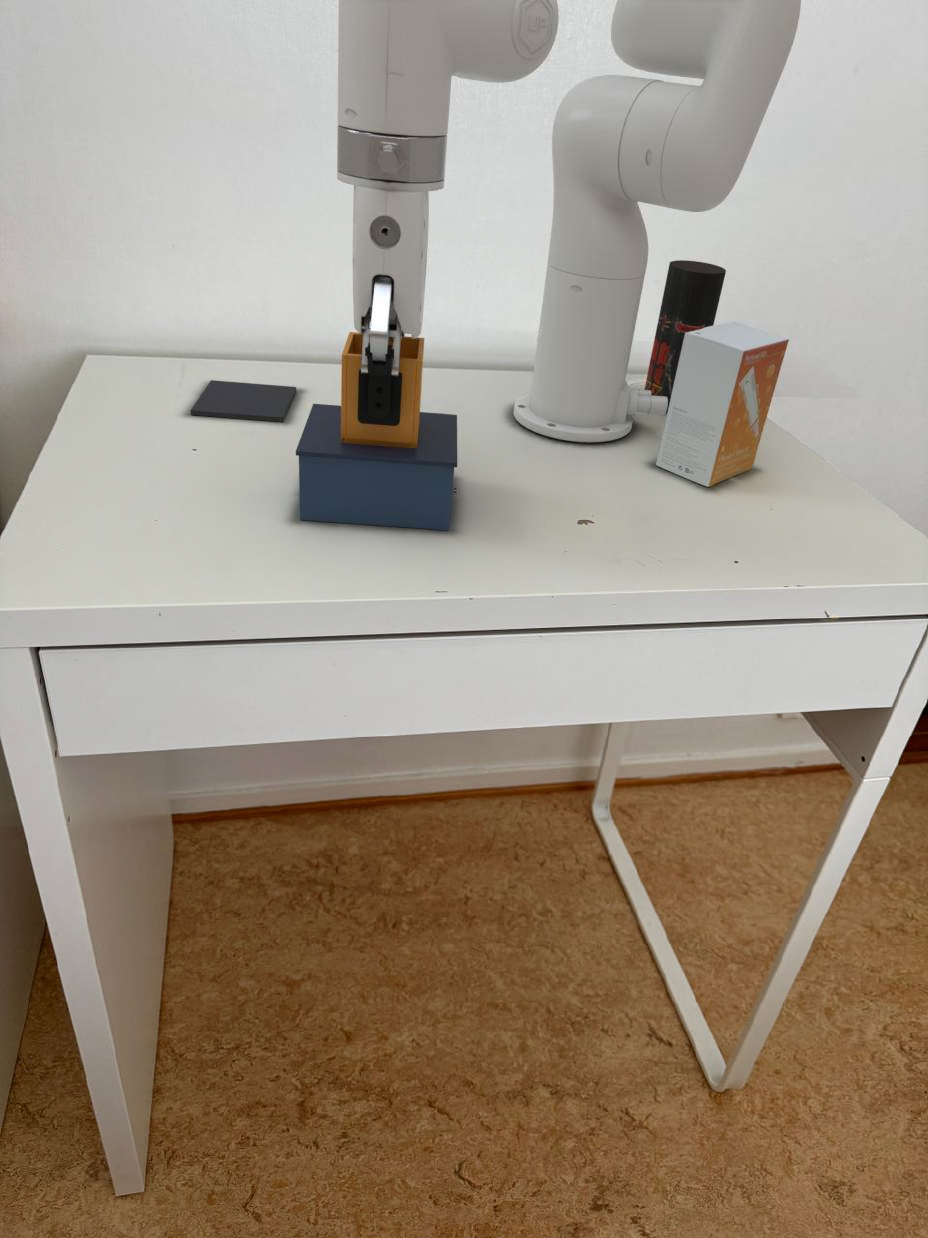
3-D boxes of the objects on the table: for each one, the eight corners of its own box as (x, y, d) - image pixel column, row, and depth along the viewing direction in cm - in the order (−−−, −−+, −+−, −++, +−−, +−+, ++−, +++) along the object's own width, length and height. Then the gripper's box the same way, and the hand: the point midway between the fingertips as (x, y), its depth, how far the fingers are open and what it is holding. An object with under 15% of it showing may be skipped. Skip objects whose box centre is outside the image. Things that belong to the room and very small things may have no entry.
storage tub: (451, 478, 82) (457, 414, 79) (451, 532, 73) (457, 462, 70) (313, 467, 82) (313, 403, 78) (296, 520, 73) (295, 450, 70)
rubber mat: (296, 391, 97) (296, 386, 97) (283, 422, 90) (283, 417, 90) (211, 384, 97) (210, 379, 97) (190, 414, 89) (190, 410, 89)
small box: (708, 489, 85) (744, 350, 78) (653, 465, 89) (682, 330, 81) (754, 469, 90) (791, 337, 83) (700, 448, 94) (731, 319, 86)
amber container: (419, 420, 77) (424, 337, 73) (416, 448, 72) (422, 360, 68) (348, 415, 77) (349, 331, 73) (340, 442, 72) (341, 354, 68)
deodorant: (655, 391, 108) (683, 257, 100) (702, 404, 105) (734, 268, 97) (633, 402, 103) (660, 264, 95) (681, 417, 101) (713, 276, 93)
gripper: (444, 182, 56) (426, 451, 66) (446, 150, 71) (431, 374, 80) (322, 171, 56) (322, 443, 65) (349, 141, 70) (345, 367, 80)
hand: (382, 403), depth 73 cm, fingers open, 7 cm apart
